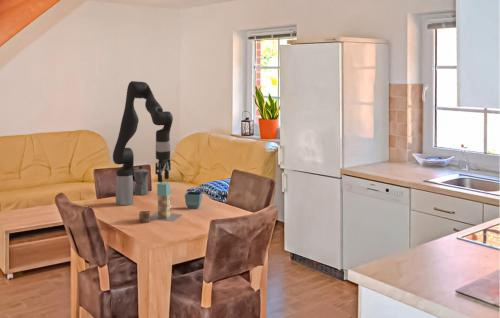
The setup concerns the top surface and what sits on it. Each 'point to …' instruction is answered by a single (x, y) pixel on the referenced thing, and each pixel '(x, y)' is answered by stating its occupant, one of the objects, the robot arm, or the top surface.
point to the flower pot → (193, 199)
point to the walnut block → (144, 217)
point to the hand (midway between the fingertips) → (163, 180)
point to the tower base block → (164, 212)
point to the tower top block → (163, 201)
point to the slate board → (171, 218)
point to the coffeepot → (140, 181)
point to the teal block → (163, 189)
